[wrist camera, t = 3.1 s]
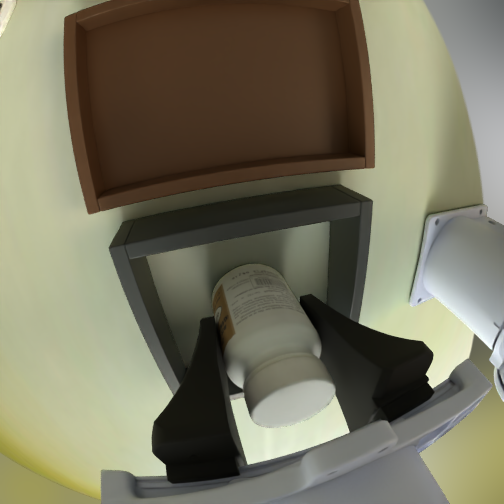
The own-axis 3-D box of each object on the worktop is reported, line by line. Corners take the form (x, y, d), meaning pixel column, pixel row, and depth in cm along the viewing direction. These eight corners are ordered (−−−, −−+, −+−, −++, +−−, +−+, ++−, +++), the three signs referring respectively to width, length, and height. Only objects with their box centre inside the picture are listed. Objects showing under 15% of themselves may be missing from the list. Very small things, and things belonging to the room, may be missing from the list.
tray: (339, 7, 9) (358, -4, 8) (354, 161, 14) (375, 168, 12) (77, 28, 7) (64, 16, 6) (99, 202, 12) (87, 215, 10)
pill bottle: (196, 284, 15) (215, 407, 8) (269, 247, 15) (338, 350, 8) (231, 334, 17) (262, 443, 10) (294, 303, 17) (353, 401, 10)
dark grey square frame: (340, 184, 14) (373, 199, 12) (331, 337, 19) (349, 365, 17) (122, 221, 12) (108, 247, 10) (178, 374, 18) (181, 409, 15)
